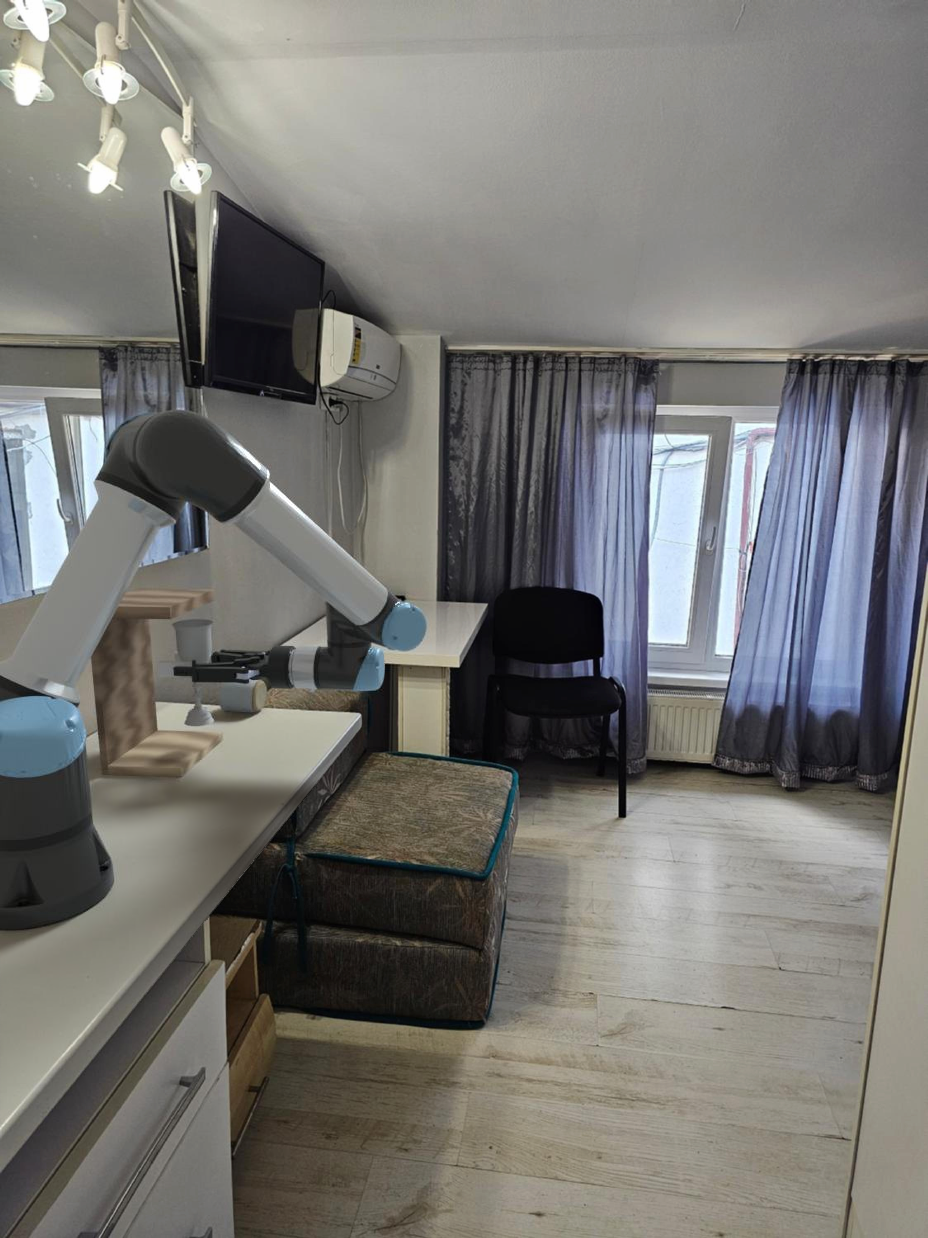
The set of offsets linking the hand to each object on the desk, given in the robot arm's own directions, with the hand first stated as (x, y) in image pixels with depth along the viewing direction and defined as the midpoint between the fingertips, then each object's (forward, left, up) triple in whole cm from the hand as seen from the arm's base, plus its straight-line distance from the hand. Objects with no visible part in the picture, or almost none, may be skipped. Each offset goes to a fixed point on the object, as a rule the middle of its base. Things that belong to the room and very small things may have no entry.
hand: (167, 664), depth 135 cm
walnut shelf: (-1, +1, -17) cm, 17 cm away
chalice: (+3, -4, -11) cm, 12 cm away
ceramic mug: (+25, +11, -17) cm, 32 cm away
